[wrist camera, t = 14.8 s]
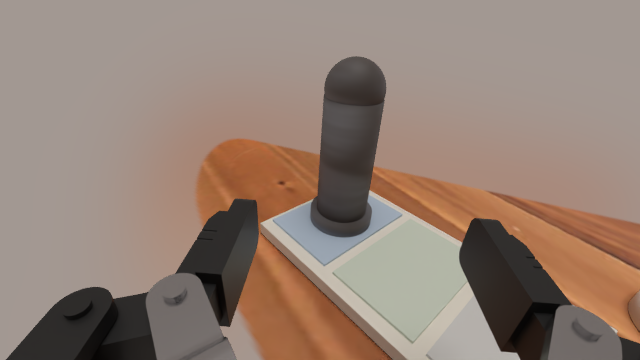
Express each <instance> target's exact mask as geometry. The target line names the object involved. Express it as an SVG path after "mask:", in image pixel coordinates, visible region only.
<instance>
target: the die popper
mask: <svg viewBox="0 0 640 360" xmlns="http://www.w3.org/2000/svg"><path fill="white" fill-rule="evenodd" d="M628 311H629V315H630V317H631V319H632V321H633V323H634V325H635V326H636V327H637V329H638V330H639V332H640V290H639V291H638V292H637V293H636V295H635V296H634V297H633V298H632V299H631V300H630V301H629V304H628Z"/></svg>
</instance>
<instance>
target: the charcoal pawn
mask: <svg viewBox="0 0 640 360" xmlns="http://www.w3.org/2000/svg"><path fill="white" fill-rule="evenodd" d="M324 91H325V94H324V103H323V119H322V135H321V150H320V165H319V181H318V196H317V197H315V198H314V199H313V201H312V203H311V212H310V218H311V222H312V223H313V225H314V226H315V227H316V228H317V229H318V230H320V231H321V232H323V233H325V234H327V235H331V236H335V237H353V236H357V235H360V234H362V233H363V232H365V231H366V230H367V229H368V227H369V225H370V221H371V215H372V208H371V206H370V204H369V203H368V202H367V201H368V196H369V190H370V184H371V178H372V172H373V166H374V160H375V154H376V148H377V142H378V136H379V130H380V124H381V118H382V112H383V106H384V98H385V94H386V81H385V77H384V75H383V73H382V71H381V69H380V68H379V67H378V66H377V65H376V64H375V63H374V62H372V61H371V60H369V59H367V58H364V57H349V58H346V59H344V60H341V61H340V62H338V63H337V64H336V65H335V66H334V67H333V68H332V69H331V71H330V72H329V74H328V76H327V78H326V81H325V87H324Z"/></svg>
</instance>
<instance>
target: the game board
mask: <svg viewBox="0 0 640 360" xmlns="http://www.w3.org/2000/svg"><path fill="white" fill-rule="evenodd" d="M312 201H313V200H310V201H308V202H306V203H304V204H302V205H299V206H297V207H295V208H293V209H291V210H288V211H286V212H284V213H282V214H279V215H277V216H275V217H273V218H271V219H268V220H266V221H264V222H262V223H260V224H261V233H262V234H263V235H264V236H265V237H266V238H267V239H268V240H269V241H270V242H271V243H272V244H273V245H274V246H275V247H276V248H277V249H279V250H280V251H281V252H282V253H283V254H284V255H285V256H286V257H287V258H288V259H289V260H290V261H291V262H292V263H293V264H294V265H295V266H296V267H297V268H298V269H299V270H300V271H301V272H302V273H303V274H304V275H306V276H307V277H308V278H309V279H310V280H311V281H312V282H313V283H314V284H315V285H316V286H317V287H318V288H319V289H320V290H321V291H322V292H323V293H324V294H325V295H326V296H327V297H328V298H329V299H330V300H332V301H333V302H334V303H335V304H336V305H337V306H338V307H339V308H340V309H341V310H342V311H343V312H344V313H345V314H346V315H347V316H348V317H349V318H350V319H351V320H352V321H353V322H354V323H355V324H356V325H357V326H359V327H360V328H361V329H362V330H363V331H364V332H365V333H366V334H367V335H368V336H369V337H370V338H371V339H372V340H373V341H374V342H375V343H376V344H377V345H378V346H379V347H380V348H381V349H382V350H383V351H385V352H386V353H387V354H388V355H389V356H390V357H391V358H392V359H393V360H520V358H519V356H518V354H517V353H511V352H501V351H500V349H499V347H498V345H497V343H496V340H495V338H494V336H493V334H492V332H491V330H490V328H489V326H488V323H487V321H486V319H485V317H484V315H483V313H482V311H481V308H480V306H479V304H478V302H477V300H476V298H475V296H474V293H473V291H472V289H471V287H470V285H469V283H468V281H467V278H466V276H465V274H464V272H463V270H462V268H461V265H460V262H459V251H460V248H461V245H462V242H460V241H458V240H457V239H455V238H453V237H451V236H449V235H448V234H446V233H444V232H442V231H441V230H439V229H437V228H435V227H434V226H432V225H430V224H428V223H426V222H425V221H423V220H421V219H419V218H418V217H416V216H414V215H412V214H410V213H409V212H407V211H405V210H403V209H402V208H400V207H398V206H396V205H395V204H393V203H391V202H389V201H387V200H386V199H384V198H382V197H380V196H379V195H377V194H375V193H373V192H371V191H370V190H369V196H368V201H367V202H368V203H369V204H370V206H371V208H372V215H371V221H370V225H369V227H368V229H367V230H366V231H365V232H363V233H362V234H360V235H357V236H353V237H335V236H331V235H327V234H325V233H323V232H321V231H320V230H318V229H317V228H316V227H315V226H314V225H313V223H312V222H311V218H310V212H311V203H312ZM573 306H574V305H573ZM610 327H611V326H610ZM611 328H612V329H613V330H614V331H615V333H616V334H617V330H616V329H614V328H613V327H611Z"/></svg>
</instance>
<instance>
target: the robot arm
mask: <svg viewBox="0 0 640 360" xmlns="http://www.w3.org/2000/svg"><path fill="white" fill-rule="evenodd" d="M258 235H259V231H258V215H257V202H256V200H248V199H234V201H233V203H232V205H231V206H230V208H229V210H228V211H219V212H217V213H216V214H215V215H213V216H212V217H211V218H209V219H208V221H207V223H206V224H205V226H204V227H203V229H202V231H201V232H200V234H199V236H198V237H197V240H196V241H195V242H194V244H193V245H192V247H191V249H190V250H189V252H188V254H187V255H186V257H185V259H184V260H183V262H182V263H181V265H180V267H179V268H178V270H177V272H176V273H175V274H173V275H170V276H168V277H165V278H163V279H162V280H160V281H159V282H157V283H156V284H155V285H154V286H153V287H152V288H151V289H150V291H149V292H147V293H143V294H138V295H133V296H127V297H122V298H116V299H113V298H112V295H111V293H110V292H109V291H108V290H106V289H104V288H100V287H91V288H85V289H82V290H79V291H76V292H74V293H71V294H70V295H68V296H66V297H64V298H63V299H61V300H60V301H59V302H57V304H55V305H54V306H53V307H52V308H51V309H50V310H49V311H48V312H47V314H46V315H45V316H44V317H43V318H42V319H41V320H40V321H39V323H38V324H37V325H36V326H35V327H34V328H33V330H32V331H31V332H30V333H29V334H28V335H27V336H26V337H25V339H24V340H23V341H22V342H21V343H20V344H19V345H18V347H17V348H16V349H15V350H14V351H13V352H12V353H11V355H10V356H9V357H8V358H7V359H6V360H237V359H236V356H235V354H234V352H233V349H232V347H231V344H230V343H229V341H228V339H227V338H226V337H224V336H223V334H222V331H221V329H220V326H227V327H230V325H231V322H232V319H233V316H234V313H235V310H236V307H237V304H238V301H239V298H240V295H241V292H242V289H243V286H244V284H245V281H246V278H247V275H248V272H249V269H250V266H251V263H252V260H253V257H254V254H255V251H256V248H257V244H258ZM459 262H460V265H461V268H462V270H463V272H464V274H465V276H466V278H467V281H468V283H469V285H470V287H471V289H472V291H473V293H474V296H475V298H476V300H477V302H478V304H479V306H480V308H481V311H482V313H483V315H484V317H485V319H486V321H487V323H488V326H489V328H490V330H491V332H492V334H493V336H494V338H495V340H496V343H497V345H498V347H499V349H500V351H501V352H511V353H517V354H518V356H519V358H520V360H640V344H639V343H636V342H633V341H630V340H627V339H624V338H621V337H618V335H617V334H616V333H615V331H614V330H613V329H612V328H611V327H610V326H609V325H608V324H607V323H606V322H605V321H603V320H602V319H601V318H599V317H598V316H596V315H595V314H593V313H591V312H589V311H587V310H585V309H582V308H579V307H576V306H573V305H572V304H571V303H570V302H569V300H568V299H567V298H566V296H565V295H564V294H563V293H562V291H561V290H560V289H559V287H558V286H557V285H556V284H555V282H554V281H553V280H552V278H551V277H550V276H549V275H548V273H547V272H546V271H545V270H543V269H542V266H541V264H540V263H539V262H538V261H537V260H535V257H534V255H533V254H532V253H531V252H530V250H529V249H528V248H527V246H526V245H524V244H523V243H522V242H521V241H519V240H518V239H517V238H515V237H514V236H513V235H509V234H508V232H507V231H506V230H505V228H504V227H503V226H502V224H501V223H500V222H499V221H498V220H492V219H479V218H475V219H473V220H472V221H471V223H470V225H469V228H468V230H467V233H466V235H465V238H464V240H463V243H462V245H461V248H460V251H459Z"/></svg>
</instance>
